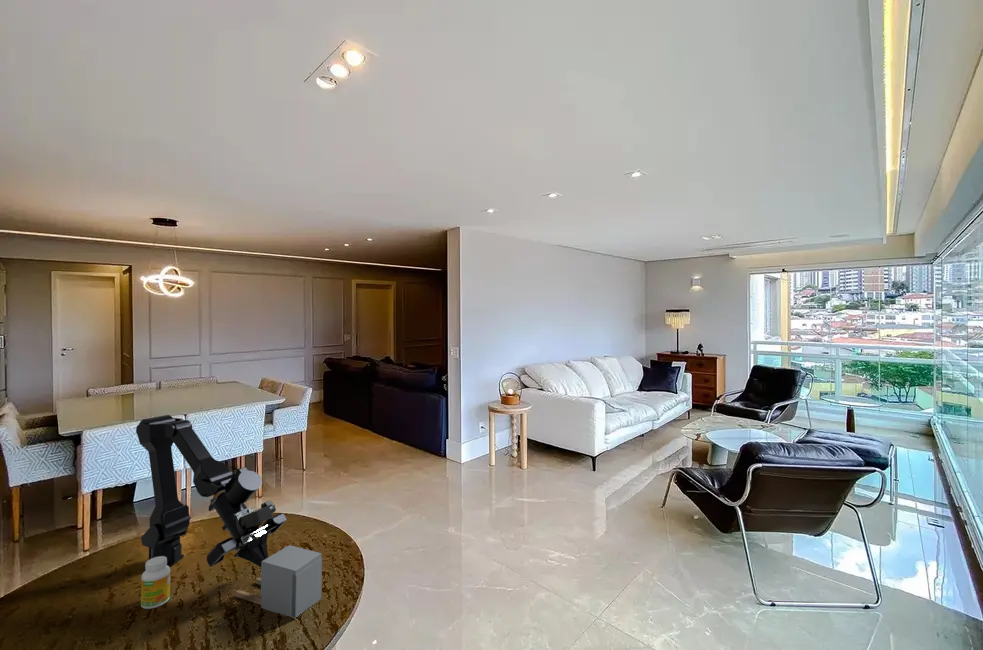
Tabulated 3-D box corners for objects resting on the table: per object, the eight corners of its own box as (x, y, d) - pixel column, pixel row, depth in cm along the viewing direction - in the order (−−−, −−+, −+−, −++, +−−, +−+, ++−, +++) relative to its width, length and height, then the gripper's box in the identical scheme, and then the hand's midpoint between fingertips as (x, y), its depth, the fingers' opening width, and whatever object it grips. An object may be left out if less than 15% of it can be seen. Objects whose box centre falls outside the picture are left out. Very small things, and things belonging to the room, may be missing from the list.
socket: (261, 607, 101) (261, 561, 101) (288, 588, 109) (289, 544, 109) (295, 619, 98) (296, 571, 98) (321, 598, 105) (322, 553, 105)
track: (235, 596, 105) (235, 591, 105) (258, 581, 111) (258, 577, 111) (263, 605, 102) (264, 600, 102) (285, 590, 108) (285, 585, 108)
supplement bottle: (138, 612, 99) (138, 569, 99) (143, 598, 103) (144, 557, 103) (167, 605, 101) (168, 563, 101) (171, 592, 106) (172, 552, 106)
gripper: (216, 509, 99) (252, 569, 95) (282, 481, 116) (314, 531, 112) (191, 537, 101) (225, 596, 98) (259, 506, 119) (290, 555, 115)
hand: (267, 567), depth 106 cm, fingers closed
